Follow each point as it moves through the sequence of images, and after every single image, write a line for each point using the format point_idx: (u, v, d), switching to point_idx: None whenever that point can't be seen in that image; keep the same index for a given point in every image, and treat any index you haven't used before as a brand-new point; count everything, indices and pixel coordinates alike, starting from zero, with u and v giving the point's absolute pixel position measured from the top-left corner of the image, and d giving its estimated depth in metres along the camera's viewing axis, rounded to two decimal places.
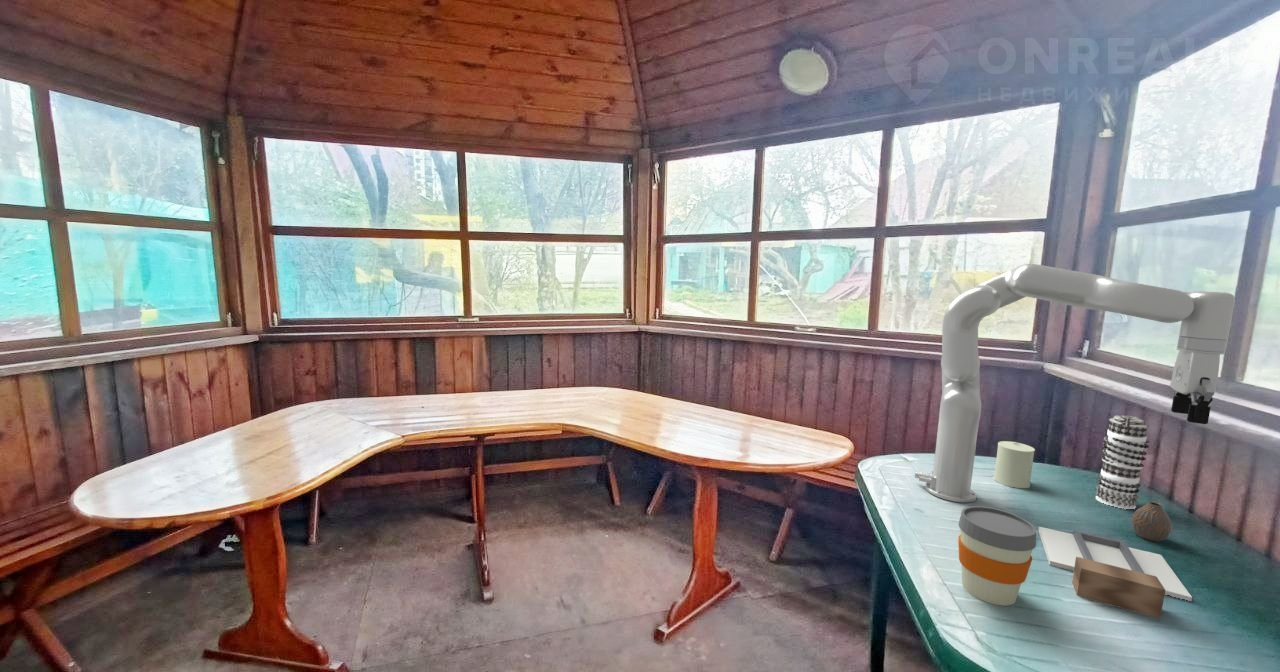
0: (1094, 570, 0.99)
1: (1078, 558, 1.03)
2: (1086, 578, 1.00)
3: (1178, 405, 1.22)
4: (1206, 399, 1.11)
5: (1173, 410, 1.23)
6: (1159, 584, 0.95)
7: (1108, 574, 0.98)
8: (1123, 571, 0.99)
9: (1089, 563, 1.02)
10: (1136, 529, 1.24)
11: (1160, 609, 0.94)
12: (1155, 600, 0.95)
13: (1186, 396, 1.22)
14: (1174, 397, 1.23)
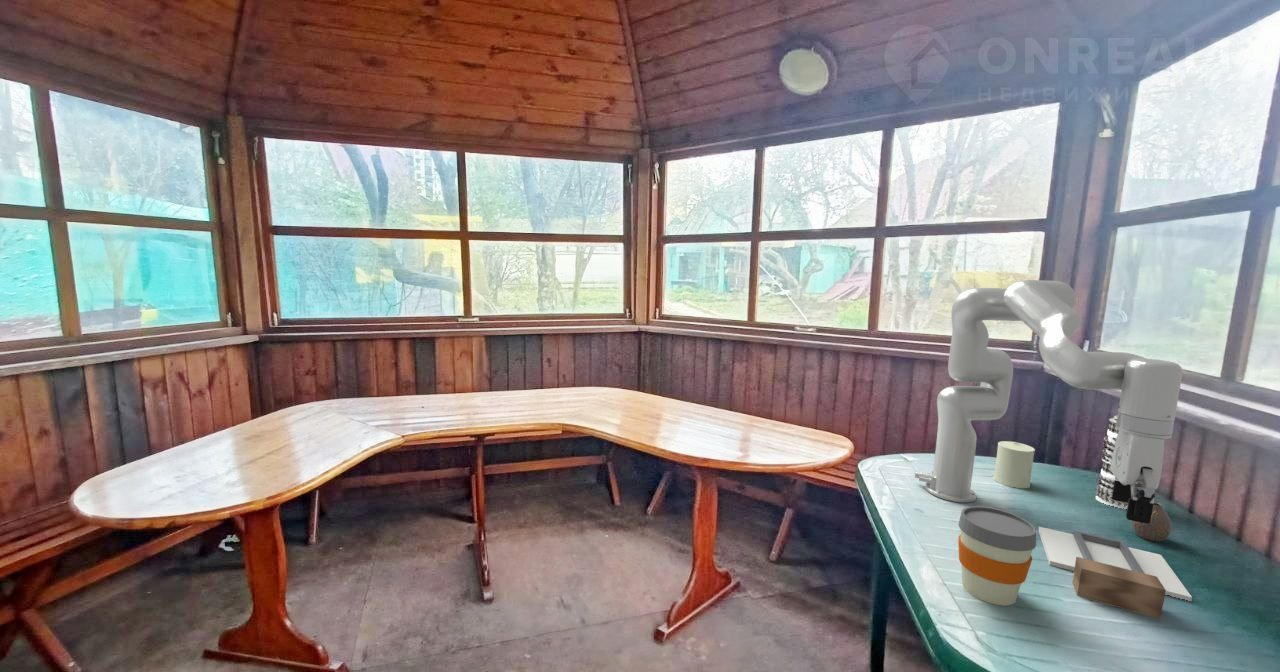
0: (1094, 571, 0.99)
1: (1078, 558, 1.03)
2: (1086, 578, 1.00)
3: (1120, 492, 1.01)
4: (1147, 495, 0.90)
5: (1114, 498, 1.02)
6: (1159, 584, 0.95)
7: (1108, 575, 0.98)
8: (1123, 571, 0.99)
9: (1089, 563, 1.02)
10: (1136, 529, 1.24)
11: (1160, 609, 0.94)
12: (1155, 600, 0.95)
13: None
14: (1115, 482, 1.02)
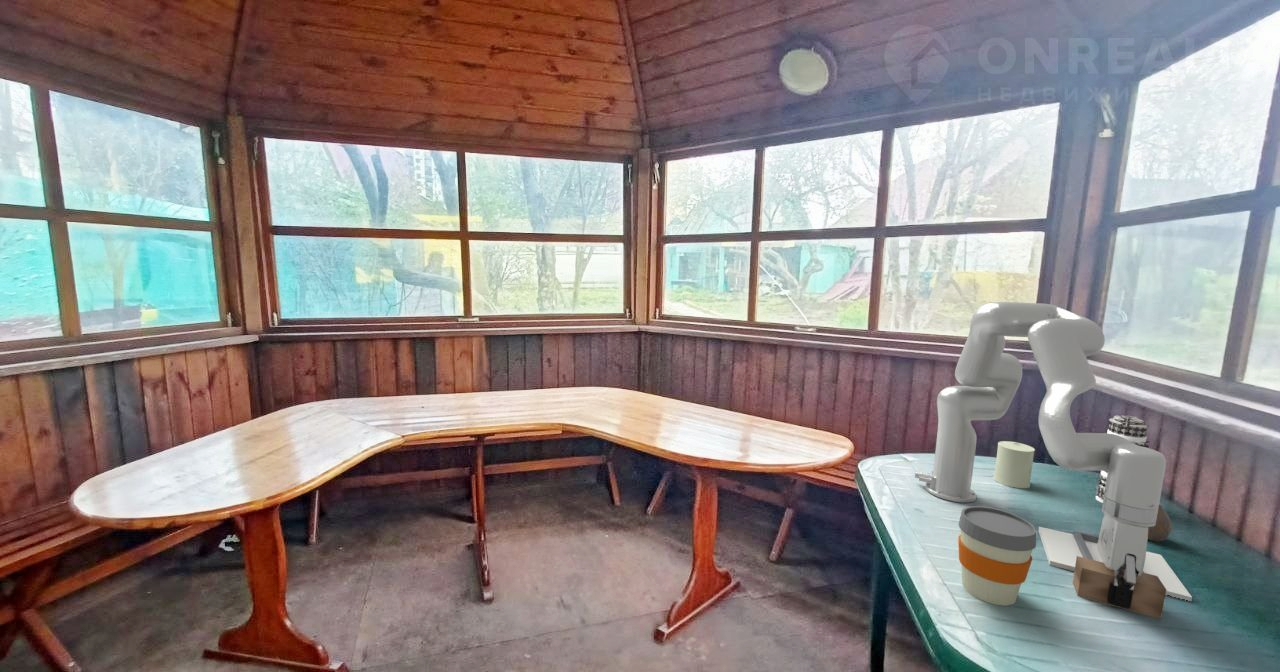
0: (1094, 570, 0.99)
1: (1079, 557, 1.03)
2: (1087, 577, 0.99)
3: None
4: (1126, 584, 0.94)
5: None
6: (1160, 583, 0.95)
7: (1109, 574, 0.98)
8: None
9: (1090, 562, 1.02)
10: None
11: (1161, 609, 0.94)
12: (1156, 600, 0.94)
13: None
14: None
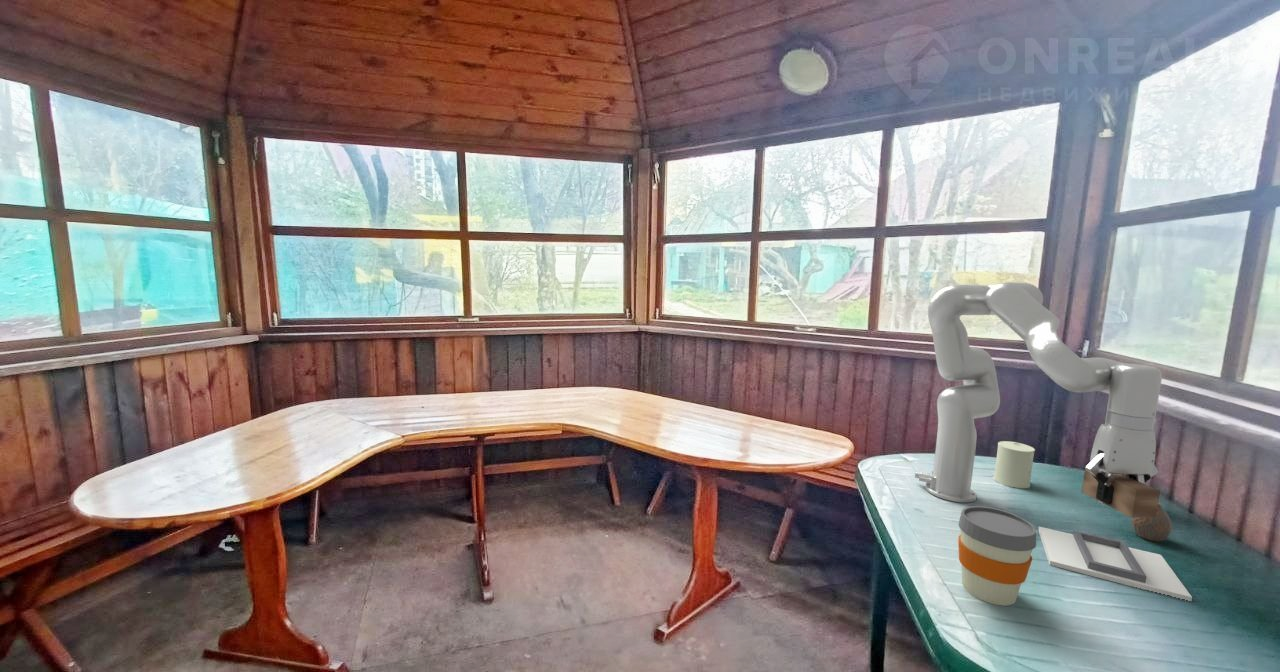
0: None
1: None
2: (1088, 476, 1.15)
3: None
4: (1094, 475, 1.10)
5: None
6: (1142, 489, 1.04)
7: None
8: (1128, 480, 1.09)
9: None
10: (1136, 529, 1.24)
11: (1132, 508, 1.05)
12: (1129, 499, 1.05)
13: None
14: None
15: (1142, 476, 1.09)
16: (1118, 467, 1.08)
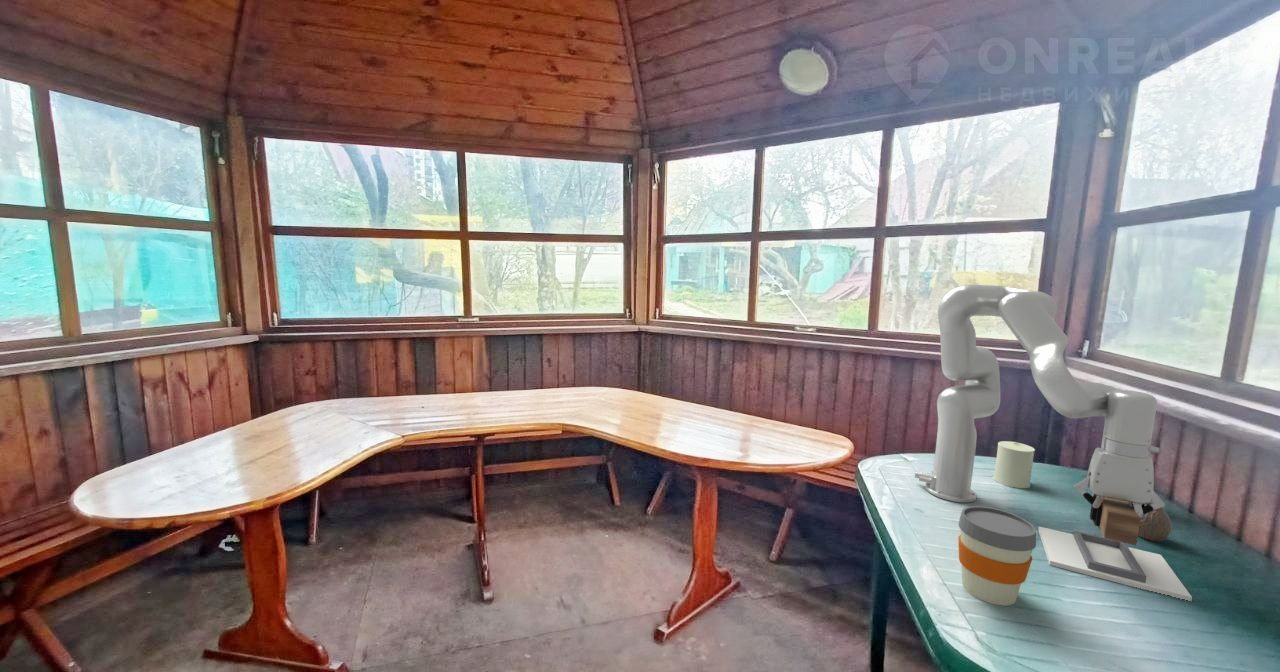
0: None
1: None
2: None
3: None
4: None
5: None
6: (1118, 513, 1.06)
7: None
8: (1122, 506, 1.10)
9: None
10: None
11: (1105, 529, 1.08)
12: (1105, 520, 1.08)
13: None
14: None
15: (1139, 505, 1.08)
16: (1103, 490, 1.10)
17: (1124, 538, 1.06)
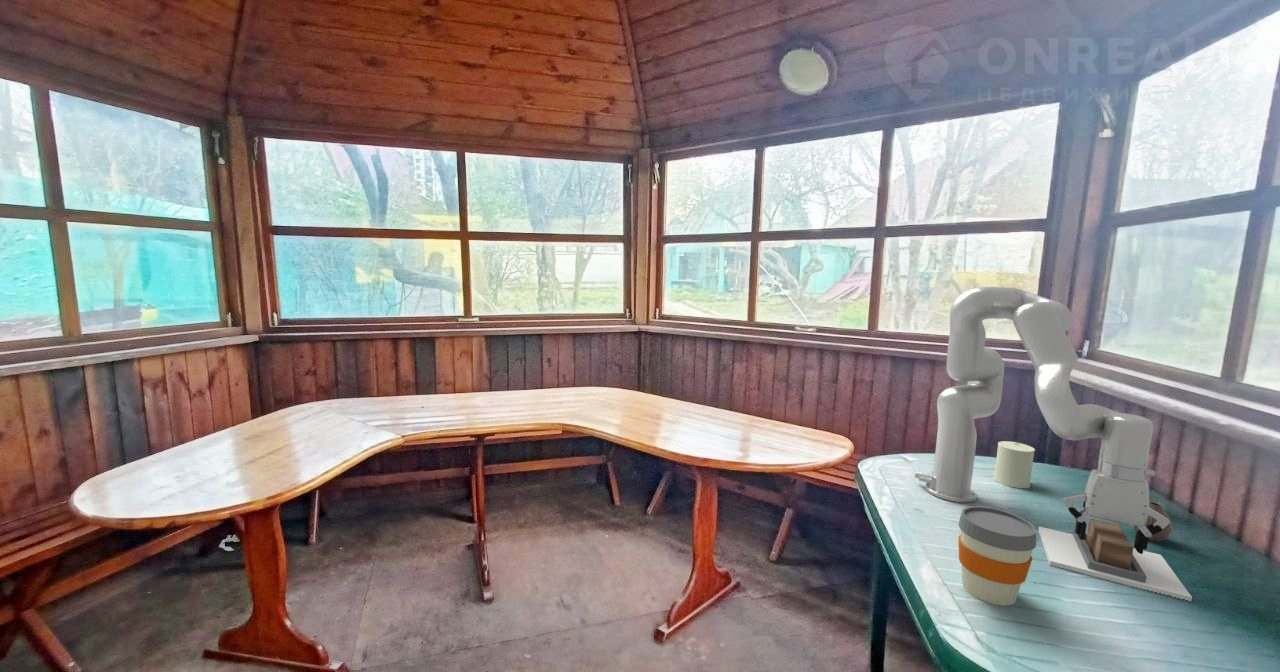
0: (1093, 522, 1.16)
1: (1114, 524, 1.16)
2: (1089, 527, 1.18)
3: (1136, 540, 1.10)
4: (1068, 508, 1.16)
5: None
6: (1112, 542, 1.08)
7: (1094, 525, 1.15)
8: (1116, 535, 1.11)
9: (1110, 525, 1.15)
10: (1136, 529, 1.24)
11: (1098, 558, 1.09)
12: (1098, 549, 1.09)
13: (1140, 533, 1.09)
14: None
15: (1143, 526, 1.08)
16: (1099, 511, 1.11)
17: None
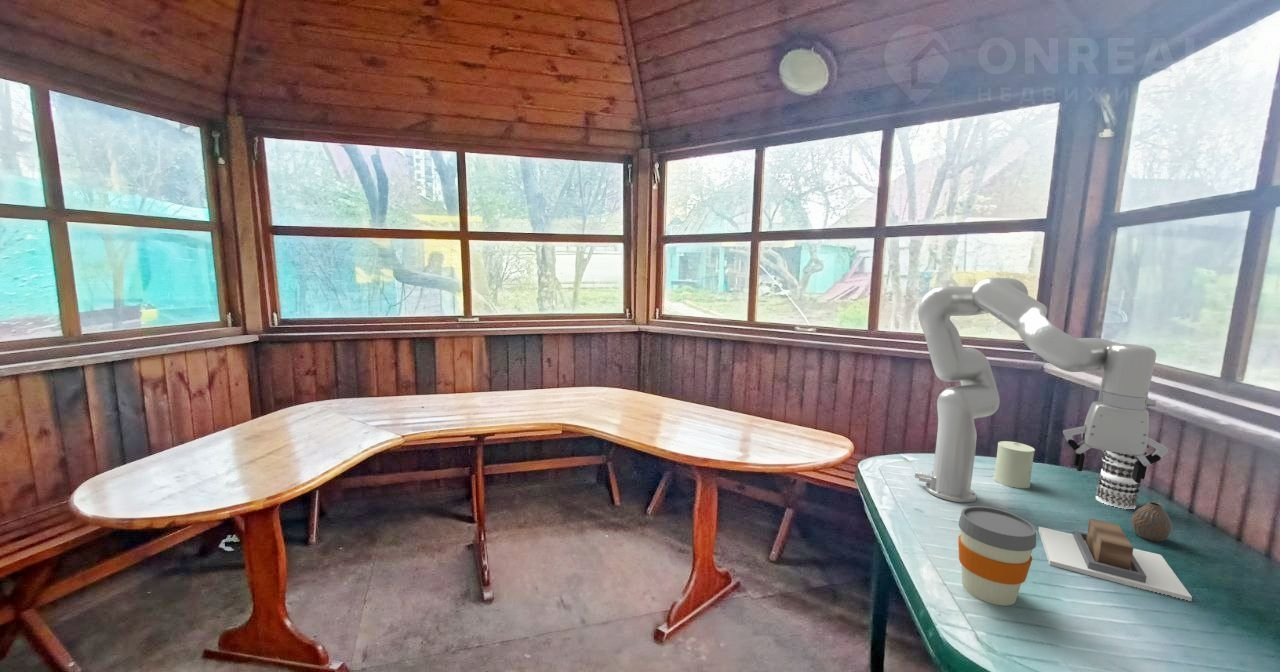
0: (1093, 522, 1.16)
1: (1114, 524, 1.16)
2: (1089, 527, 1.18)
3: (1134, 471, 1.11)
4: (1067, 441, 1.16)
5: None
6: (1112, 542, 1.08)
7: (1094, 525, 1.15)
8: (1116, 535, 1.11)
9: (1110, 525, 1.15)
10: (1136, 529, 1.24)
11: (1098, 558, 1.09)
12: (1098, 549, 1.09)
13: (1139, 463, 1.09)
14: None
15: (1142, 455, 1.08)
16: (1098, 442, 1.11)
17: None
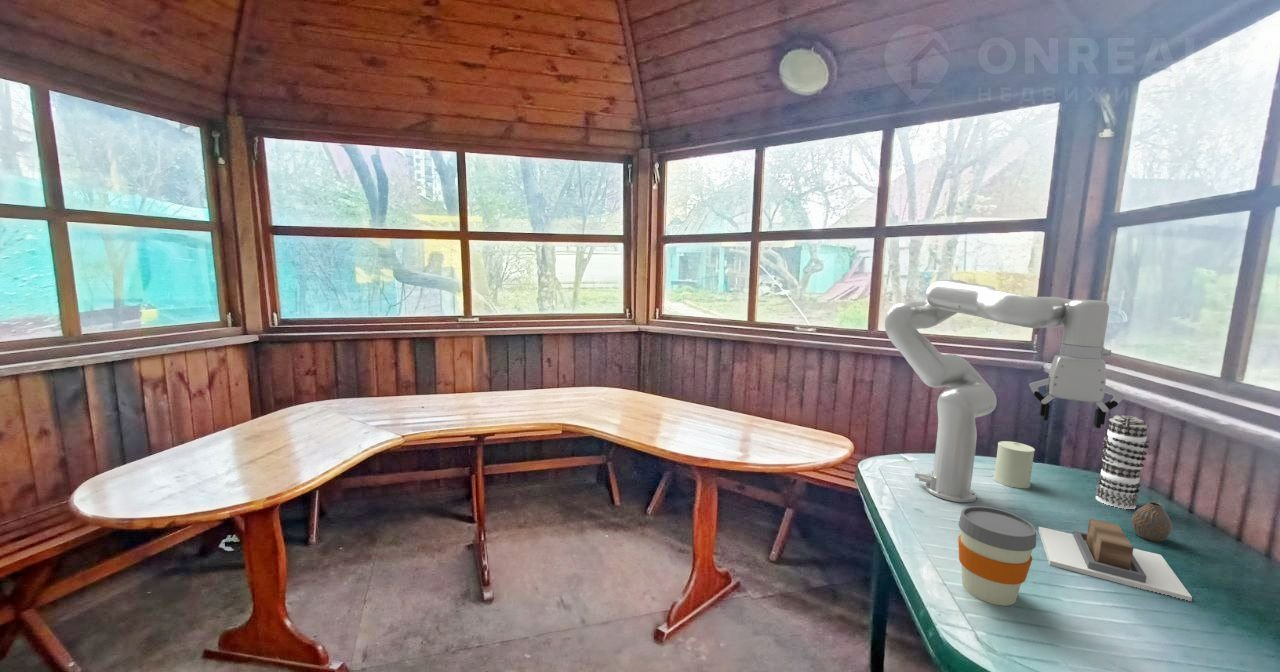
0: (1093, 522, 1.16)
1: (1114, 524, 1.16)
2: (1089, 527, 1.18)
3: (1095, 418, 1.19)
4: (1033, 393, 1.24)
5: None
6: (1112, 542, 1.08)
7: (1094, 525, 1.15)
8: (1116, 535, 1.11)
9: (1110, 525, 1.15)
10: (1136, 529, 1.24)
11: (1098, 558, 1.09)
12: (1098, 549, 1.09)
13: (1099, 409, 1.17)
14: None
15: (1100, 401, 1.16)
16: (1060, 391, 1.20)
17: None
